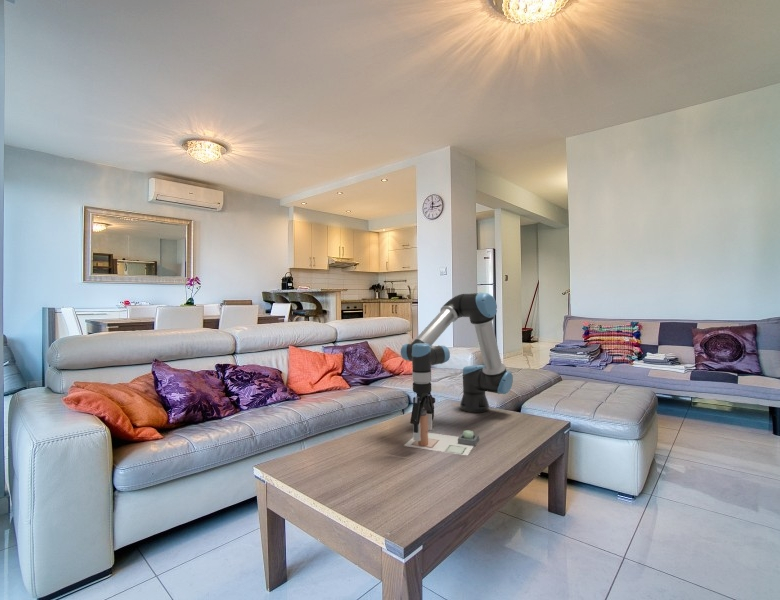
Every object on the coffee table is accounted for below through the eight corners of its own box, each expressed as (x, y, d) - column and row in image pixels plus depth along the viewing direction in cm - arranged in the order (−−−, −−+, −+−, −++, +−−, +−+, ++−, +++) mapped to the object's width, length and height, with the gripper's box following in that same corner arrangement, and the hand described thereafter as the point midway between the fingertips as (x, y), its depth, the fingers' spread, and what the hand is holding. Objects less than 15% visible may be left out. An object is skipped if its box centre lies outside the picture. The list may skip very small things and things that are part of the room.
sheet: (419, 432, 168) (419, 431, 168) (478, 440, 157) (478, 439, 157) (403, 446, 152) (403, 445, 152) (467, 456, 141) (467, 455, 141)
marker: (420, 442, 155) (419, 408, 155) (429, 443, 153) (428, 409, 154) (416, 445, 151) (416, 411, 152) (426, 446, 150) (425, 412, 150)
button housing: (462, 437, 159) (462, 433, 159) (479, 440, 156) (478, 435, 156) (457, 443, 153) (457, 438, 153) (475, 445, 150) (475, 440, 150)
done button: (464, 437, 157) (464, 429, 157) (474, 438, 155) (474, 431, 156) (462, 440, 154) (462, 432, 154) (472, 442, 152) (472, 434, 152)
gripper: (423, 375, 166) (425, 424, 165) (401, 387, 143) (402, 443, 143) (440, 376, 162) (441, 426, 162) (419, 389, 140) (420, 446, 140)
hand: (423, 434), depth 152 cm, fingers open, 13 cm apart
